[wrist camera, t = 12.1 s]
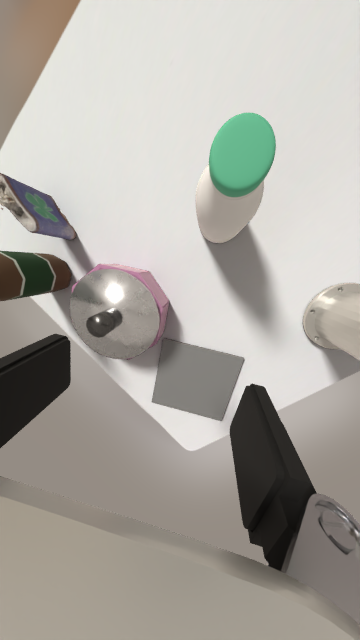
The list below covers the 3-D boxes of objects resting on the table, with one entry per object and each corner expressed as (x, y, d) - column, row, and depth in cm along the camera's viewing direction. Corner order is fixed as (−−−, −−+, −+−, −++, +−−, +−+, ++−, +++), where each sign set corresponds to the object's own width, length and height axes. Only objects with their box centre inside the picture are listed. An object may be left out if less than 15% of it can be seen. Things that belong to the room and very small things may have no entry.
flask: (79, 235, 35) (28, 223, 25) (69, 244, 36) (16, 236, 26) (48, 191, 34) (-19, 159, 24) (39, 201, 35) (-30, 174, 24)
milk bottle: (226, 251, 33) (254, 234, 14) (190, 229, 32) (168, 181, 13) (252, 209, 30) (330, 117, 11) (213, 185, 30) (227, 48, 11)
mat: (243, 357, 38) (244, 358, 38) (221, 419, 44) (221, 421, 44) (163, 338, 40) (163, 339, 39) (152, 400, 45) (151, 402, 45)
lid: (167, 280, 30) (158, 283, 24) (152, 365, 35) (142, 384, 29) (73, 259, 31) (43, 258, 25) (73, 345, 36) (49, 360, 31)
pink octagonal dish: (174, 276, 35) (167, 279, 30) (160, 352, 41) (152, 366, 35) (92, 258, 36) (71, 257, 31) (89, 334, 42) (71, 345, 36)
